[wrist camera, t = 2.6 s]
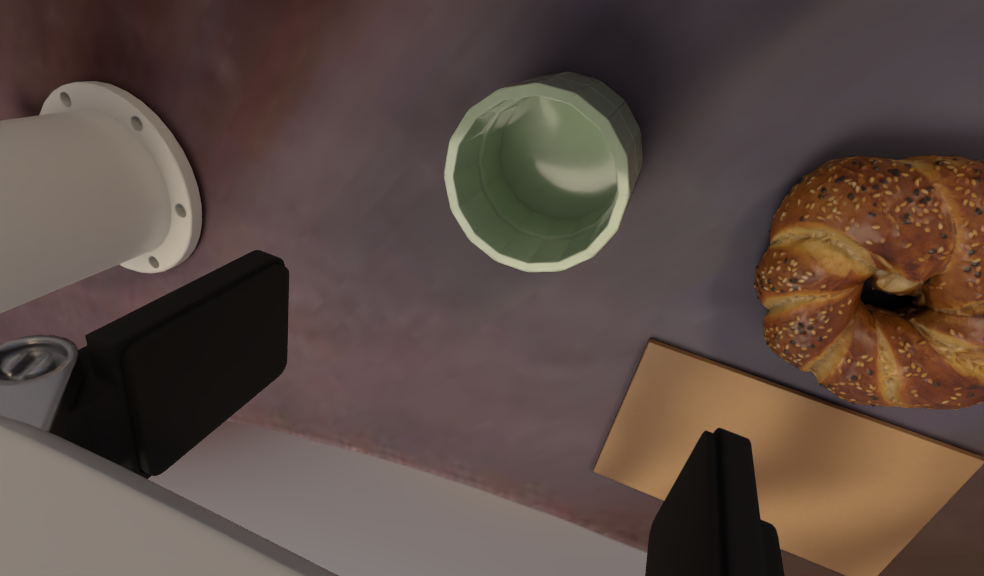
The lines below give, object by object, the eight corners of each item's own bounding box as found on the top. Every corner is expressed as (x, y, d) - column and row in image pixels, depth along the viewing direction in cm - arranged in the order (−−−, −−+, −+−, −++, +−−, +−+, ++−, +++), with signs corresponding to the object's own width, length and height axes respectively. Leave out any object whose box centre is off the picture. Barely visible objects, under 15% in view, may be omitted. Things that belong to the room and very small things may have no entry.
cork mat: (593, 467, 33) (592, 471, 33) (649, 337, 28) (649, 341, 28) (866, 579, 30) (868, 585, 30) (982, 455, 25) (986, 461, 25)
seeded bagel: (695, 227, 25) (695, 256, 22) (967, 74, 20) (1020, 82, 17) (824, 418, 27) (841, 470, 24) (1106, 326, 22) (1177, 377, 18)
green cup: (480, 201, 28) (432, 240, 23) (510, 54, 25) (461, 61, 20) (613, 245, 27) (594, 296, 22) (666, 95, 23) (658, 115, 18)
